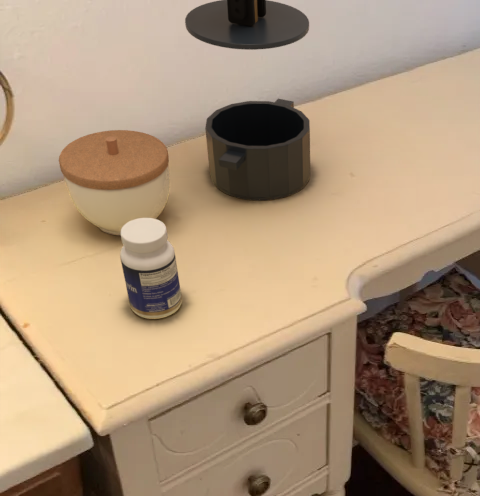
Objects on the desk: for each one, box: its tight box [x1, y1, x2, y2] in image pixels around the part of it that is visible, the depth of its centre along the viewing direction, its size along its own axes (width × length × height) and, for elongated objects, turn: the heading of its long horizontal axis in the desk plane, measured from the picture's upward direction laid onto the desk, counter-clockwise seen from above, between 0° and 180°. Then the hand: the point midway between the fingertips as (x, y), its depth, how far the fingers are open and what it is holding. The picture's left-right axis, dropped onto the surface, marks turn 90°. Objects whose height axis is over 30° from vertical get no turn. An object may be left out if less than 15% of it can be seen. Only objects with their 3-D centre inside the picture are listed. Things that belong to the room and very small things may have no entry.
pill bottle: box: [119, 218, 183, 320], centre depth 90 cm, size 6×6×10 cm
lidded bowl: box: [58, 129, 171, 236], centre depth 102 cm, size 13×13×11 cm
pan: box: [204, 98, 311, 201], centre depth 113 cm, size 14×19×8 cm
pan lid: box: [184, 0, 310, 51], centre depth 98 cm, size 15×15×6 cm
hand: (247, 17), depth 99 cm, fingers closed on pan lid, 2 cm apart
